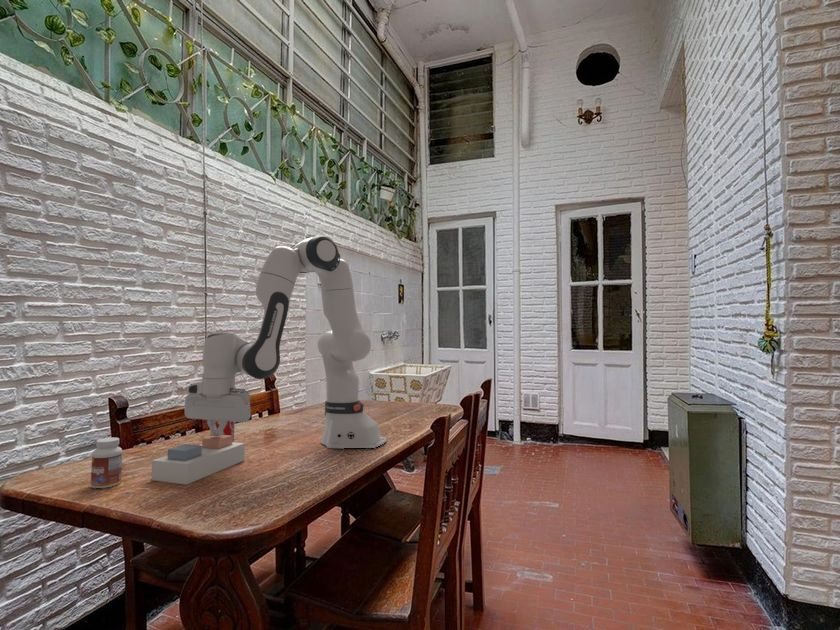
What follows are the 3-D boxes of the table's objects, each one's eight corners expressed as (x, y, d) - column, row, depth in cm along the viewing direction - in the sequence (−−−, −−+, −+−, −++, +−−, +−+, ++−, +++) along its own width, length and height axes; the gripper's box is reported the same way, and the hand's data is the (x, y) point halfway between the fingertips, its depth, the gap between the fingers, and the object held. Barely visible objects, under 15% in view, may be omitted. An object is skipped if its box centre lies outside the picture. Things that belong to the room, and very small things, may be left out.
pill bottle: (84, 487, 108) (86, 440, 108) (110, 479, 114) (112, 435, 114) (100, 491, 106) (102, 443, 106) (126, 483, 111) (128, 438, 112)
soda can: (227, 452, 140) (228, 414, 140) (205, 452, 140) (206, 414, 140) (237, 447, 147) (238, 410, 147) (216, 446, 147) (217, 410, 147)
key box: (244, 460, 132) (244, 443, 132) (186, 484, 110) (187, 464, 111) (213, 457, 134) (213, 440, 135) (151, 480, 113) (151, 460, 114)
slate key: (201, 460, 119) (201, 445, 119) (185, 466, 113) (185, 450, 114) (184, 458, 120) (184, 443, 120) (167, 464, 115) (167, 449, 115)
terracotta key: (231, 449, 130) (232, 435, 130) (218, 454, 125) (218, 440, 125) (215, 448, 132) (216, 434, 132) (201, 452, 126) (202, 438, 127)
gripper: (256, 387, 129) (254, 436, 129) (197, 384, 135) (196, 431, 134) (242, 390, 123) (240, 440, 123) (181, 387, 129) (179, 435, 128)
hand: (216, 435), depth 128 cm, fingers closed
